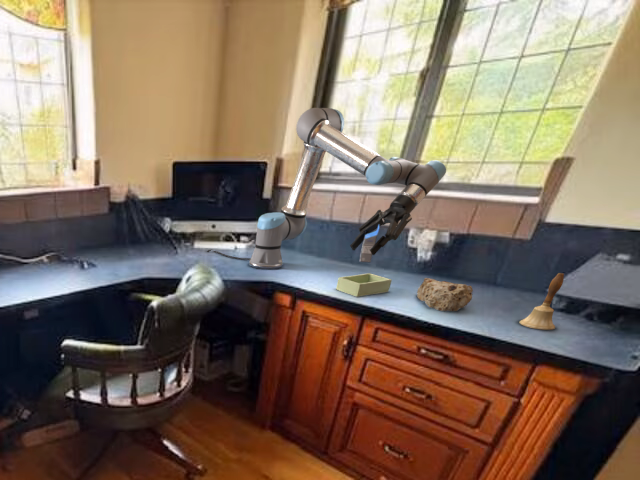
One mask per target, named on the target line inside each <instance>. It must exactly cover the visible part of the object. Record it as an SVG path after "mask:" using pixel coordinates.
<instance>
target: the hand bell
mask: <svg viewBox="0 0 640 480" xmlns="http://www.w3.org/2000/svg"><path fill="white" fill-rule="evenodd" d="M564 276H565V273H563V272H558V273H557V274H556V275H555V277H553V278H552V279H551V281H550V283H549V285H548V289H547V291H548V292H547V294H546V297H545V298H544V300H543V303H542V304H541V305H538V306H535V307H534V308H533V310H532V311H531V312H530V313H529V314H528V316H526V317H525V318H523V319H521V320H519V324H520V325H521V326H523V327H526V328H530V329H535V330H541V331H552V330H555V329H556V325H555V324H554V322H553V316H554V313H555V312H554V311H555V310H554V309H553V308H552V307H551V304H552V302H553V299H554V297H555V296H556V294H557V293H558V292H559V290H560V289H561V288H562V286H563V284H564Z"/></svg>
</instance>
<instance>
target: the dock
mask: <svg viewBox="0 0 640 480" xmlns="http://www.w3.org/2000/svg"><path fill="white" fill-rule="evenodd" d="M391 284H392V279H391V278H387V277H384V276H381V275H376V274H374V273H373V274H372V273H361V274H354V275H346V276H339V277H338V279H337V284H336V288H335V290H337V291H339V292H342V293H345V294H348V295H351V296H354V297H357V298H358V297H365V296H371V295H377V294H383V293H389V291H390V288H391Z"/></svg>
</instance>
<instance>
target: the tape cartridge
mask: <svg viewBox="0 0 640 480" xmlns="http://www.w3.org/2000/svg"><path fill="white" fill-rule="evenodd" d="M380 227H381V226H380ZM380 227H379V225H378V228H377V229H376V230H374V231H372V232H371V233H369V234H366V235H365V237H364V241H363V242H362V246H361V250H360V254H359V262H360V263H371V262H372V258H373V255H372V253H371V252H370V249H371V248H372V247H373V246H374V245H375V244H376V242H377V238H378V235H379V231H380Z"/></svg>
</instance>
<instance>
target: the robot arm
mask: <svg viewBox="0 0 640 480" xmlns="http://www.w3.org/2000/svg"><path fill="white" fill-rule="evenodd" d="M295 127H296V129H295V130H296V135H297V136H298V138H299V139H300V140H301V141H302V142H303V146H304V150H303V155H302V156H301V157H302V158H301V160H300V162H299V165H298V169H297V172H296V175H295V177H294V181H293V183H292V187H291V189H290V192H289V196H288V199H287V201H286V205H284V206H282V207H281V209H280V212H278V211H277V212H276V211H274V212H267V213H264V214H261V215H260V216H259V217H258V220H257V225H256V234H255V235H256V237H255V245H254V250H253V252H252V255H251V257H250V258H249V257H239V256H238V257H237V256H232V255H228V254H225V253H222V252H220V251H217V250H215V251H213V253H215V254H219V255H221V256H224V257H227V258H231V259H236V260H244V261H245V260H246V261H249V263H248V264H249V267H252V268H255V269H261V270H276V269H280V268H282V267H283V257H282V252H281V251H282V250H281V247H282V241H289V240H290V241H291V240H294V239H297V238H298V237H300V236H302V235H303V234H304V233H305V232H306V229H307V226H308V221H307V217H306V216H307V211H306V207H307V203H308V201H309V199H310V197H311V196H310V195H311V192H312V190H313V187H314V184H315V182H316V179H317V176H318V174H319V171H320V169H321V166H322V162H323V160H324V157H325V155H326V153H328V154H329V155H331V156H332V157H334V158H336V159H337V160H339V161H340V162H342V163H344V164H346V165H347V166H348V167H350V168H352V169H353V170H354V171H357V172H358V173H360V174H361V175H362V176H364V177H365V179H366V181H367V182H368V183H369V184H371V185H375V186H381V185H387V184H395V183H396V184H400V185H403V186H405V187H404V188H403V189H402V190H401V191H400V192H399V193H398V195H397V196H396V197H394V199H393V200H392V201H391V202H390V204H389V207H388V208H387V209H385V210H383V211H382V209H378V210H377V211H376V212H375V213H374V215H372V216H371V217H370V218H369V219H368V220H366V221H365V223H363V224H362V225H361V226H360V227H358V232H359V234H357V236H356V237H355V238H354V240H353V242H352V243H351V244H349V246H350V248H351V250H352V251H356V250H357V248H358V247H359V246H360V245H361V244H363V242H364V237H365V235H366V234H369V233H372V232H375V231H376V230H377V228H378V225H379V227H381V226H385V225H386V224H389V225H388V228H387V230H386V233H385V234H384V235H382V236H381V237H380V238H379V239H377V240H376V242H375V245H374V246H373V247H372V248H371V249H370V252H371V253H372V256H375V255H376V254H377V253H378V252H379V251H380V249H381V248H384V247H385V245H387V243H388V242H390V241H396V240H398V238H399V237H400V235H401V234H402V232H403V230H404V229H405V228H406V226H407V225H408V224H409V223H410V222H411V221H412V220H413V217H412V216H411V213H412V212H413V211H414V210H415V208H416V207H417V206H418V205H419V204H420V203H421V202H422V201H423V200H424V198H426V196H427V195H428V194H429V193H430V192H431V191H432V190H433V189H435V187H436V186H437V185H438V184H439V183H440V181H441V180H442V179H443V178H444V176H446V174H447V167H446V165H445V164H444V163H443V162H442V161H439V160H437V159H434V160H429V161H427V162H426V163H425V164H420V163H416V162H414V161H410V160H407V159H404V158H402V157H398V156H392V157H390V158H389V159H387V158H385V157H384V156H382V155H380V154H378V152H375V151H374V150H372V149H370V148H369V147H367V146H366V145H364V144H362V143H360V142H358V141H357V140H355V139H354V138H352V137H350V136H348V135H347V134H345V133H343V131H344V127H345V117H344V115H343V113H342V112H341V111H340V110H338V109H336V108H331V107H311V108H309V109H307V110H305V111H303V112H302V114H301V115H300V116H299V118H298V120H297V122H296V126H295ZM211 250H212V249H208V250H207V251H206V253H209V252H212V251H211Z"/></svg>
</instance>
